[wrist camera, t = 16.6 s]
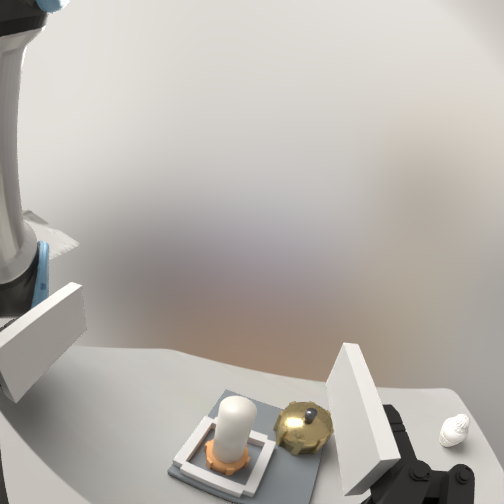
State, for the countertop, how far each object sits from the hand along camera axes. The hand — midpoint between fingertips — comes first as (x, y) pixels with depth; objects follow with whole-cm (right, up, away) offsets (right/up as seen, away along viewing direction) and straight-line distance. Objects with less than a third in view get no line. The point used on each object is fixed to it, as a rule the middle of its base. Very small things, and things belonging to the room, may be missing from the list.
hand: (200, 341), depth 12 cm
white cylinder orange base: (-1, -23, +17) cm, 29 cm away
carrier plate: (+3, -24, +20) cm, 31 cm away
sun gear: (+9, -24, +23) cm, 35 cm away
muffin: (+38, -31, +20) cm, 53 cm away
